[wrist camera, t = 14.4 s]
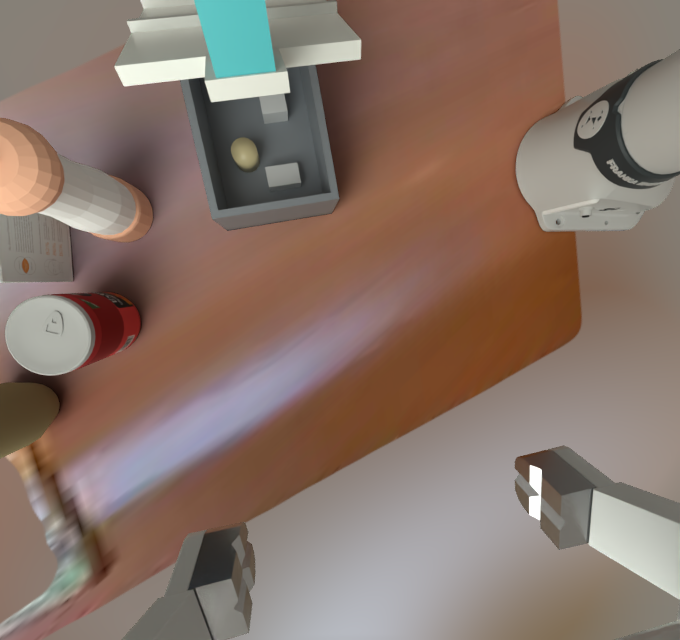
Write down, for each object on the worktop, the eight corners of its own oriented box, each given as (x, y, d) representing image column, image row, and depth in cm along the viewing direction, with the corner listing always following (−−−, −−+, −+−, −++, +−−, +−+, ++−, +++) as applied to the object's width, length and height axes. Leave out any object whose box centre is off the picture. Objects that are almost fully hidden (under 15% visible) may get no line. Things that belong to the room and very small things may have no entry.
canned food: (141, 291, 42) (87, 294, 31) (145, 351, 43) (94, 375, 32) (76, 291, 41) (-2, 294, 30) (81, 353, 42) (8, 377, 31)
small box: (20, 214, 40) (-78, 191, 29) (71, 217, 40) (-7, 195, 30) (25, 281, 40) (-68, 281, 30) (75, 282, 41) (0, 283, 31)
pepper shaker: (83, 187, 40) (-106, 102, 21) (145, 179, 41) (16, 91, 22) (99, 246, 41) (-68, 216, 22) (159, 238, 42) (47, 202, 23)
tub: (302, 53, 42) (304, 0, 34) (331, 213, 44) (339, 198, 36) (190, 66, 40) (164, 13, 32) (227, 230, 43) (212, 219, 35)
